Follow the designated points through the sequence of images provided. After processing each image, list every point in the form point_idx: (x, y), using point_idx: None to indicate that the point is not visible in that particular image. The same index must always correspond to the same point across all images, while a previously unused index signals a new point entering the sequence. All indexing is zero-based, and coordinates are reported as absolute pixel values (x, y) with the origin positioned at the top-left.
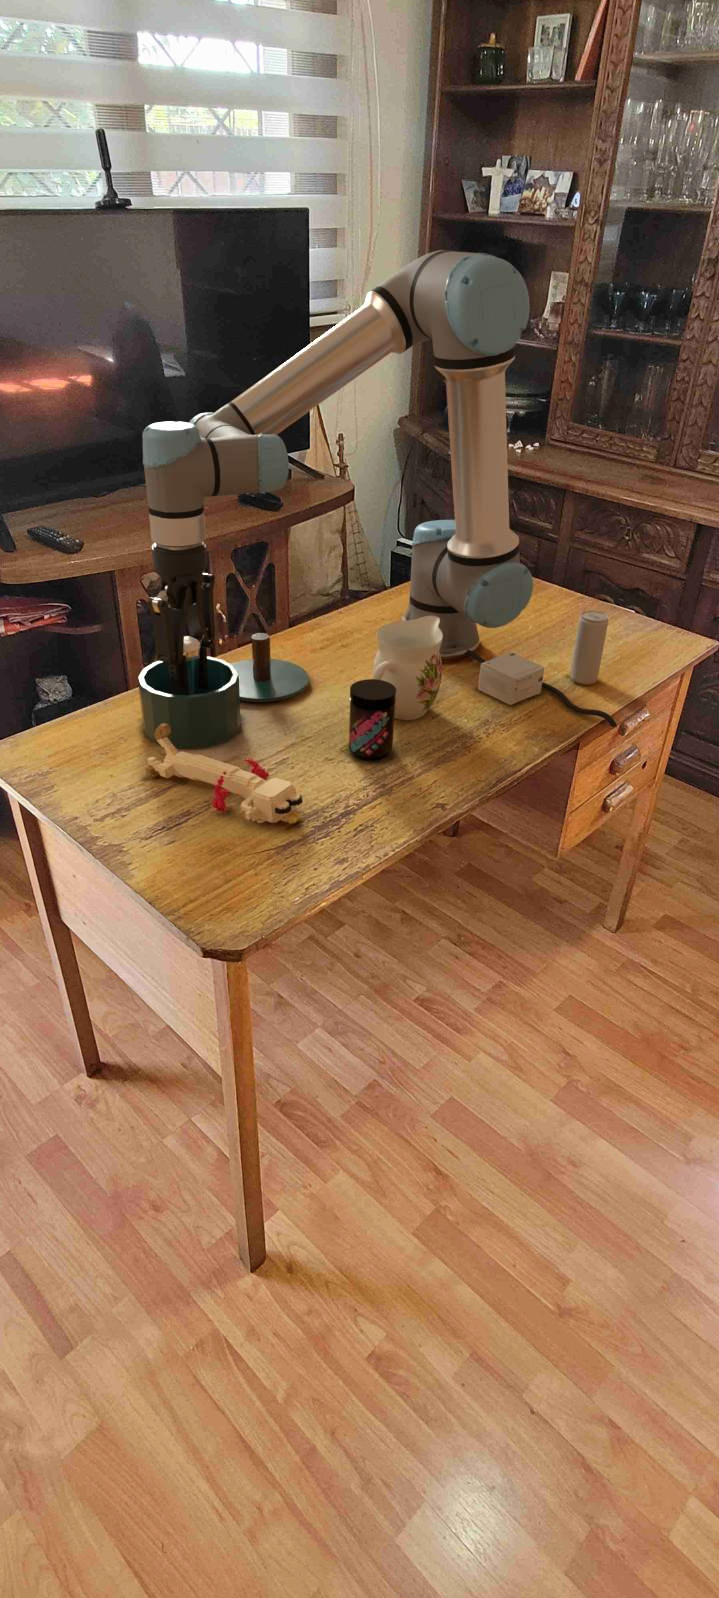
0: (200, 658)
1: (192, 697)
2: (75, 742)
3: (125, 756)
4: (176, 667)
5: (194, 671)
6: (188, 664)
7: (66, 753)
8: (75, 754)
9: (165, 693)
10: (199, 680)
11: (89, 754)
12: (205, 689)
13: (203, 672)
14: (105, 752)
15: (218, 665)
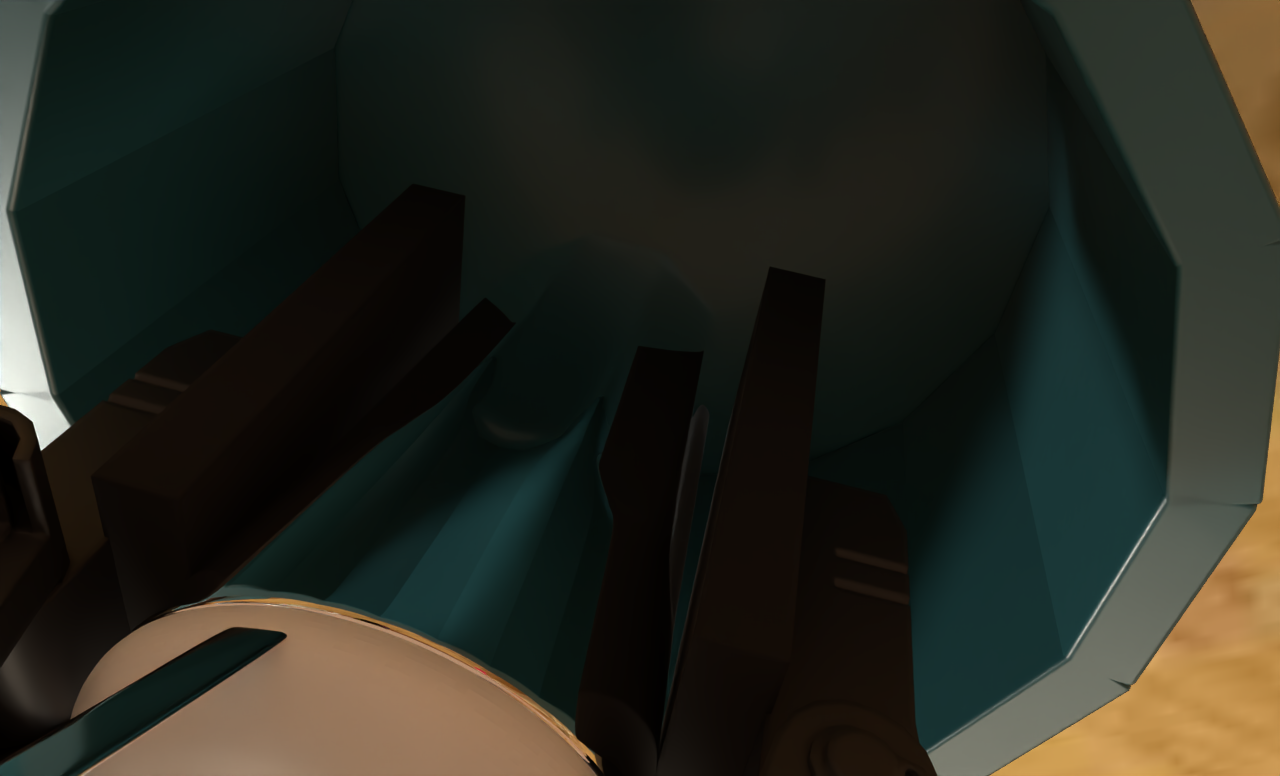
0: (275, 448)
1: (1264, 172)
2: (1093, 747)
3: (1274, 467)
4: (900, 695)
5: (574, 406)
6: (625, 553)
7: (1244, 757)
8: (1256, 719)
9: (1145, 550)
10: (428, 305)
11: (1252, 658)
12: (464, 197)
13: (375, 304)
14: (1216, 589)
15: (59, 210)
